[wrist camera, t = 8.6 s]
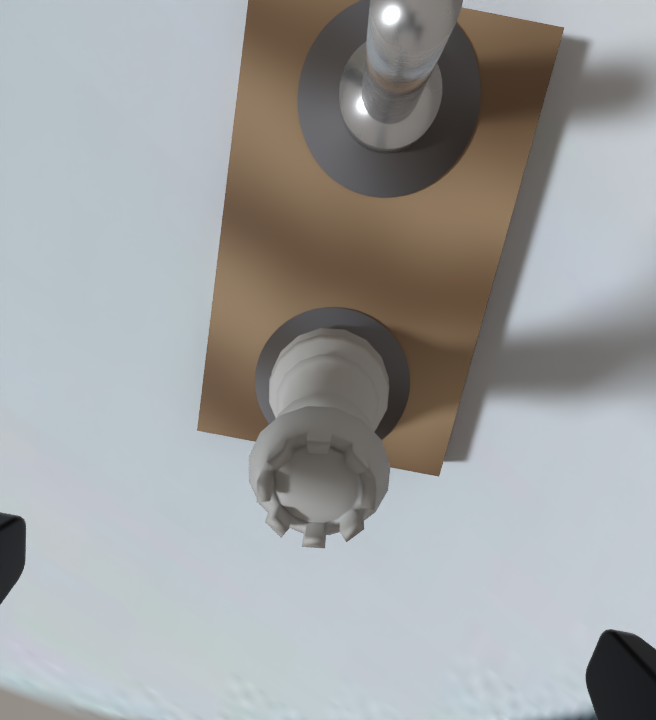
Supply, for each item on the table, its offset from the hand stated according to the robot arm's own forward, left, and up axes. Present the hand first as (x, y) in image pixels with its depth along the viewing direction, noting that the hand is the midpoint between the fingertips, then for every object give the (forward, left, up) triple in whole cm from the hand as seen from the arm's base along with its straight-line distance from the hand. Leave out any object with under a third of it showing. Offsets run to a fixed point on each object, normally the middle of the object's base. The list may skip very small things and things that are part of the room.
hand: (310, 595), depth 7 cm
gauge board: (-5, 0, -12) cm, 13 cm away
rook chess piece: (0, 0, -11) cm, 11 cm away
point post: (-10, 0, -11) cm, 15 cm away
